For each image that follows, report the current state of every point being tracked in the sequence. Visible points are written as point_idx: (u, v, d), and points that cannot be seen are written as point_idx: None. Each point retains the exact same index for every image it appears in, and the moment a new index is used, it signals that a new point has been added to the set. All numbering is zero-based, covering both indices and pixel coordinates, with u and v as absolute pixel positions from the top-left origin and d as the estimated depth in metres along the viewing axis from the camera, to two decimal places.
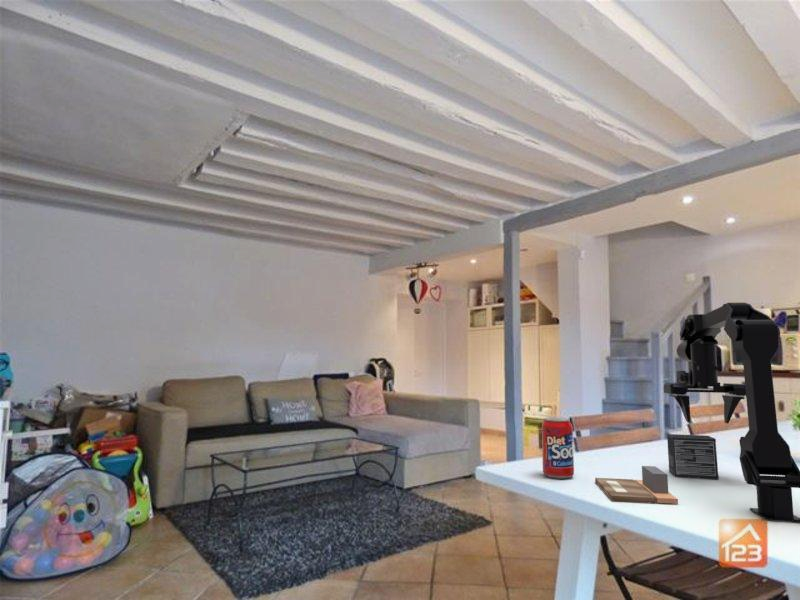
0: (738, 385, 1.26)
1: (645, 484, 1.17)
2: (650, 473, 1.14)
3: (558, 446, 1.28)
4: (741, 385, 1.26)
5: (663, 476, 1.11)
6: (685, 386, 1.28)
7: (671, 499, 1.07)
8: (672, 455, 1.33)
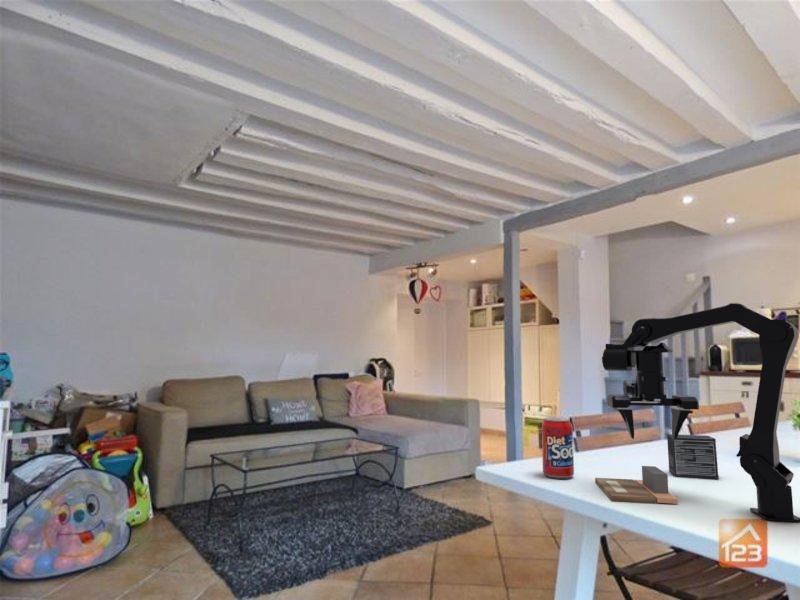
0: (686, 398, 1.14)
1: (645, 484, 1.17)
2: (650, 473, 1.14)
3: (558, 446, 1.28)
4: (689, 398, 1.14)
5: (663, 476, 1.11)
6: (628, 399, 1.15)
7: (671, 499, 1.07)
8: (672, 455, 1.33)
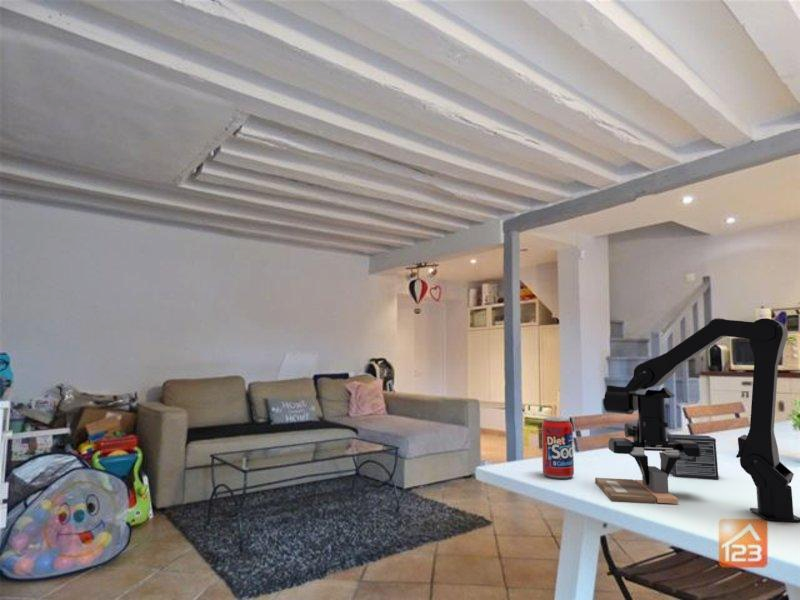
0: (688, 444, 1.13)
1: (645, 484, 1.17)
2: (650, 473, 1.14)
3: (558, 446, 1.28)
4: (692, 444, 1.13)
5: (663, 476, 1.11)
6: (630, 444, 1.14)
7: (671, 499, 1.07)
8: None
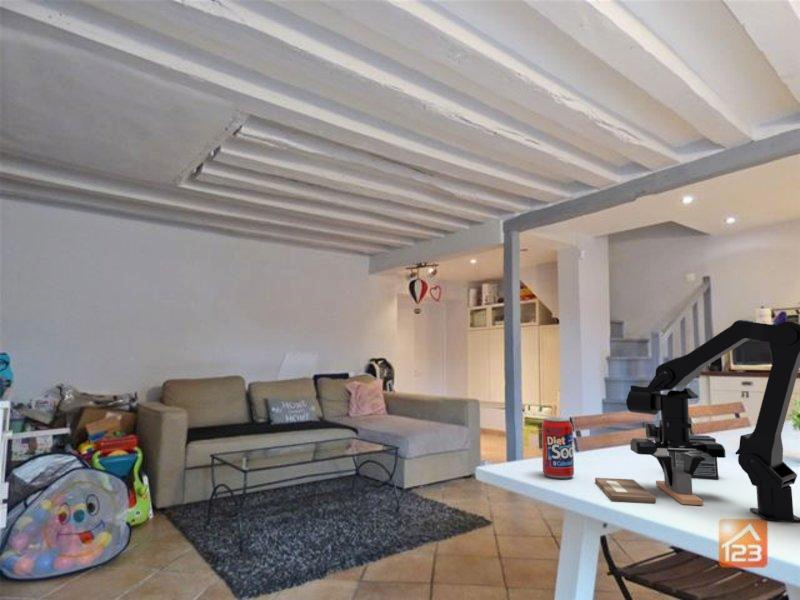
0: (712, 445, 1.12)
1: (668, 485, 1.16)
2: (673, 474, 1.13)
3: (558, 446, 1.28)
4: (716, 445, 1.12)
5: (687, 477, 1.11)
6: (653, 445, 1.13)
7: (696, 500, 1.06)
8: (672, 455, 1.33)
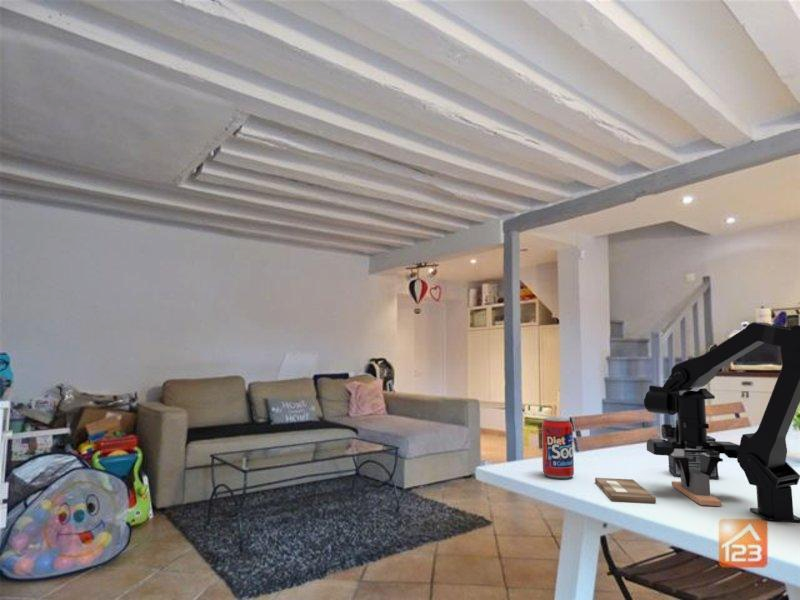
0: (730, 446, 1.11)
1: (684, 486, 1.16)
2: (691, 475, 1.12)
3: (558, 446, 1.28)
4: (733, 446, 1.11)
5: (705, 477, 1.10)
6: (670, 446, 1.13)
7: (714, 501, 1.06)
8: None
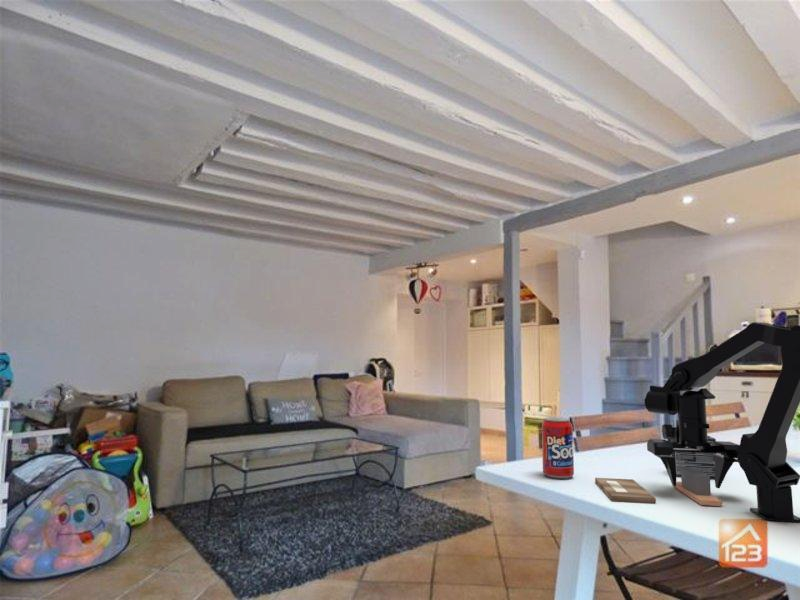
0: (730, 446, 1.11)
1: (685, 486, 1.16)
2: (691, 475, 1.12)
3: (558, 446, 1.28)
4: (734, 446, 1.11)
5: (705, 477, 1.10)
6: (670, 446, 1.13)
7: (715, 501, 1.06)
8: (672, 455, 1.33)
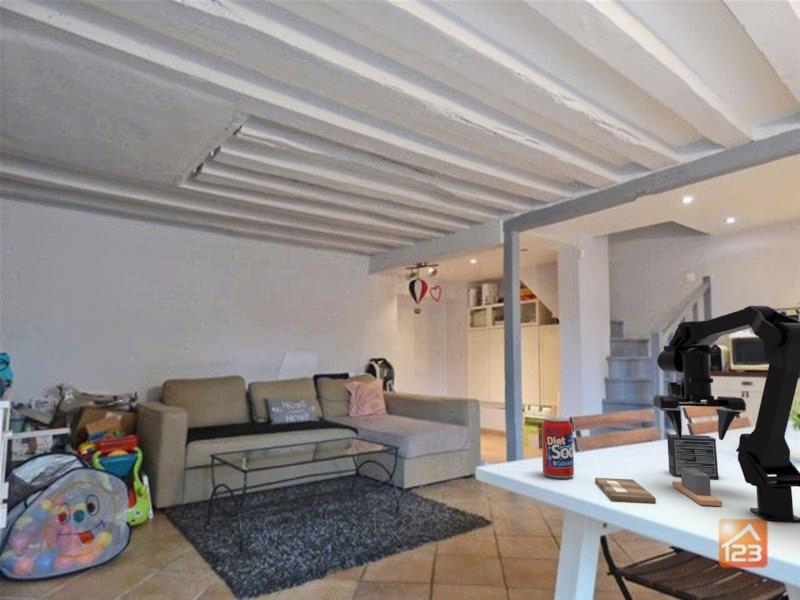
0: (733, 399, 1.17)
1: (685, 486, 1.16)
2: (691, 475, 1.12)
3: (558, 446, 1.28)
4: (736, 399, 1.17)
5: (705, 477, 1.10)
6: (676, 400, 1.18)
7: (715, 501, 1.06)
8: (672, 455, 1.33)
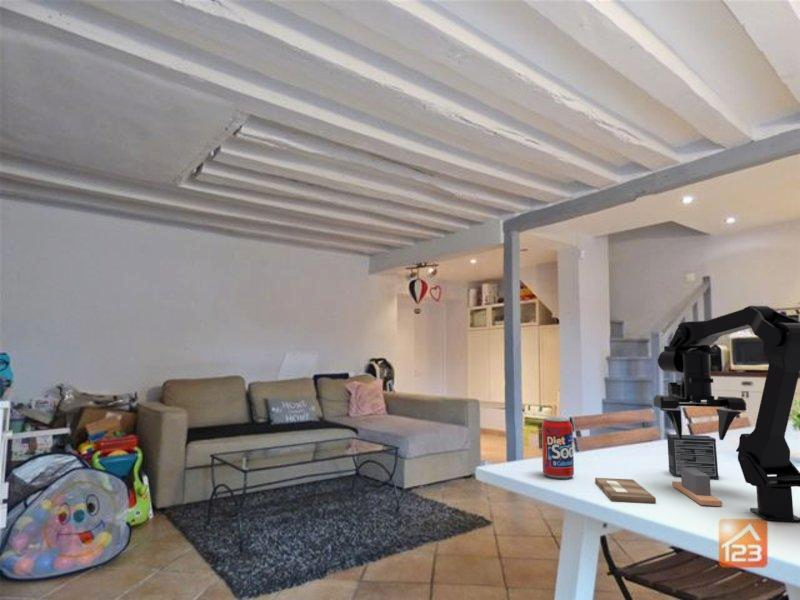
0: (733, 399, 1.17)
1: (685, 486, 1.16)
2: (691, 475, 1.12)
3: (558, 446, 1.28)
4: (737, 399, 1.17)
5: (705, 477, 1.10)
6: (676, 400, 1.18)
7: (715, 501, 1.06)
8: (672, 455, 1.33)
